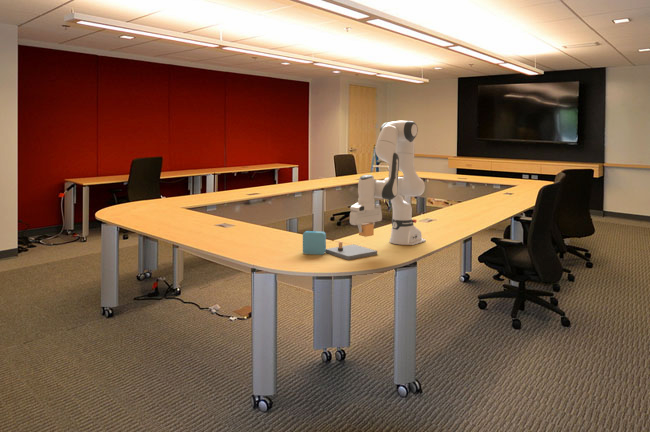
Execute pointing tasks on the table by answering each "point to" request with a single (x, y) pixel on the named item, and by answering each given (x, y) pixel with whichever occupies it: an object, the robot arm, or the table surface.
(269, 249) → the table surface
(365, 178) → the robot arm
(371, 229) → the orange cube
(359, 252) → the board
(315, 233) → the data package
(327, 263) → the table surface
